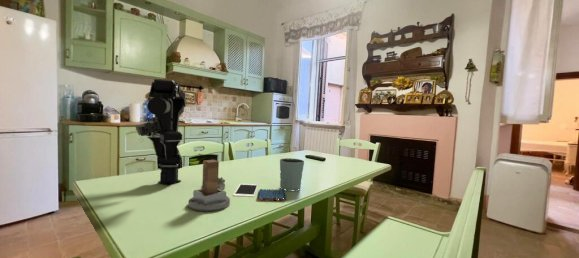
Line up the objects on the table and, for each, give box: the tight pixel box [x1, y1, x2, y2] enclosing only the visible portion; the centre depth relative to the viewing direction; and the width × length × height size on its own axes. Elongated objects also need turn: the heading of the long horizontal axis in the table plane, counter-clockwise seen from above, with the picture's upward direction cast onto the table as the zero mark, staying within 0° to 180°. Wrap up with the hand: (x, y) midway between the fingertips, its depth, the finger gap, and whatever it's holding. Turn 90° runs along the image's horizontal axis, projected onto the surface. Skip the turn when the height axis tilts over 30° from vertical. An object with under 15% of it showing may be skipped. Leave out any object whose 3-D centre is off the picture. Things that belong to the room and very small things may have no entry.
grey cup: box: [279, 157, 305, 191], centre depth 108 cm, size 10×10×12 cm
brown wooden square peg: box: [201, 159, 220, 195], centre depth 84 cm, size 4×4×13 cm
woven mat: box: [256, 188, 287, 202], centre depth 96 cm, size 10×11×2 cm
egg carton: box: [218, 177, 226, 191], centre depth 105 cm, size 11×8×4 cm
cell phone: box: [232, 183, 259, 198], centre depth 103 cm, size 8×16×1 cm, turn 1°
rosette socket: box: [187, 188, 231, 213], centre depth 84 cm, size 13×13×4 cm
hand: (162, 157), depth 93 cm, fingers open, 9 cm apart
